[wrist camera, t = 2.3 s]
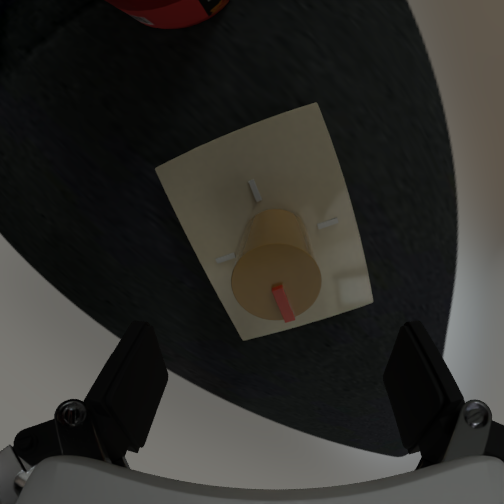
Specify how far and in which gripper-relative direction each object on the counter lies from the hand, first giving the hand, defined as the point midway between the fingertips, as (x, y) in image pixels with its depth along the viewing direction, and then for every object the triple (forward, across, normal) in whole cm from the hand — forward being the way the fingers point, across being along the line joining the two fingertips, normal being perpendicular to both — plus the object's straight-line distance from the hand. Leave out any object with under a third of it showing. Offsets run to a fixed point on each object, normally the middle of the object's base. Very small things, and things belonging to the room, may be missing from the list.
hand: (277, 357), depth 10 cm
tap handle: (+10, 0, -1) cm, 10 cm away
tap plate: (+12, 0, -1) cm, 12 cm away
